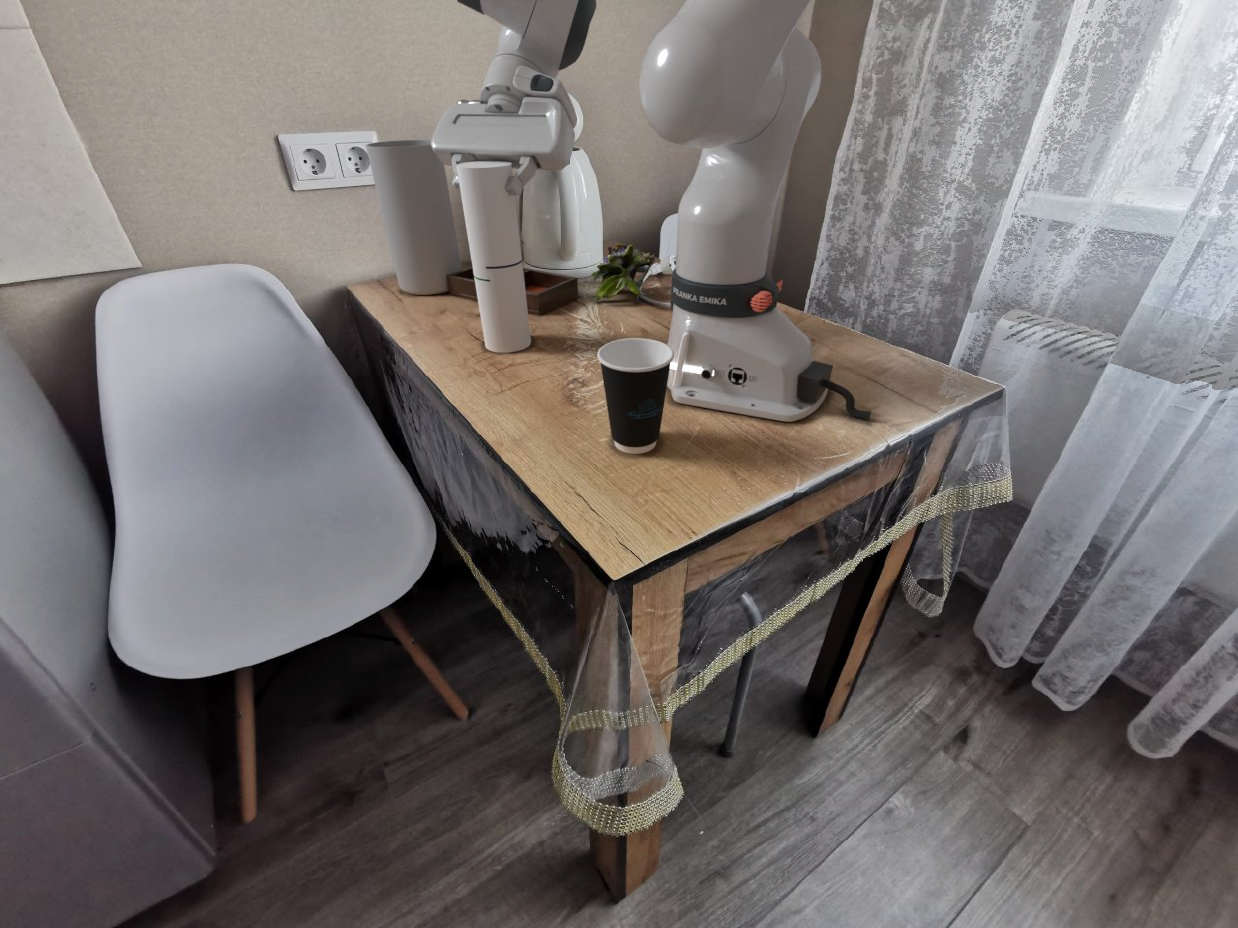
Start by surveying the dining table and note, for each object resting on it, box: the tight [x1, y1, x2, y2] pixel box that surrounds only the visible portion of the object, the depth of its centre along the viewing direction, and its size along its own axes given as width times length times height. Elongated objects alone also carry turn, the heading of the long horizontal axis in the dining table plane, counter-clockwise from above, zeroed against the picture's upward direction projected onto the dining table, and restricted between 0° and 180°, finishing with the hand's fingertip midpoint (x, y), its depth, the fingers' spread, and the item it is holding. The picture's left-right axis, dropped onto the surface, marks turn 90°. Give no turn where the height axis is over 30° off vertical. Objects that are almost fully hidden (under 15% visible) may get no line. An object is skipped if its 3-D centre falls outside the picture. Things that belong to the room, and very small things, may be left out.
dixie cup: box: [596, 337, 674, 455], centre depth 61 cm, size 8×8×11 cm
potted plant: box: [591, 243, 656, 304], centre depth 103 cm, size 11×11×12 cm
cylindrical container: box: [456, 161, 532, 354], centre depth 81 cm, size 7×7×25 cm
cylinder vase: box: [365, 139, 463, 296], centre depth 105 cm, size 12×12×25 cm
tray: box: [446, 266, 579, 316], centre depth 106 cm, size 22×12×4 cm, turn 57°
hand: (485, 191), depth 75 cm, fingers closed on cylindrical container, 7 cm apart
